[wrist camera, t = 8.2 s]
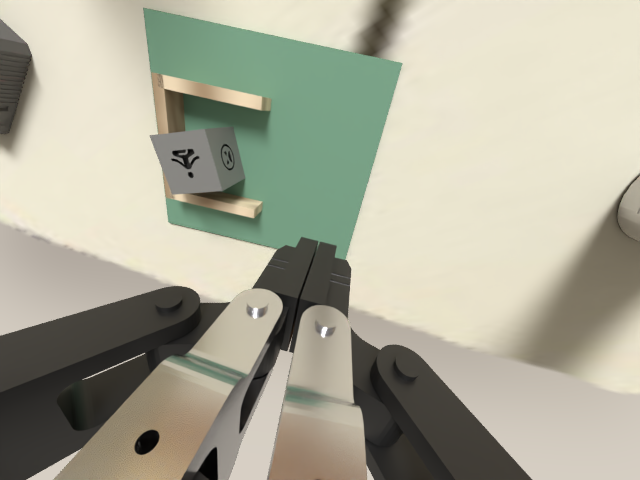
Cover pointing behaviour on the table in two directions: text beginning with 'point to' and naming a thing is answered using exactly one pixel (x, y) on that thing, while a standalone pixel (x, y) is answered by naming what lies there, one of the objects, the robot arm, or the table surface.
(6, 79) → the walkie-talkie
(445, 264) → the table surface
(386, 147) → the table surface
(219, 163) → the dice cube
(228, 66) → the green mat
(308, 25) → the table surface
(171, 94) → the wooden u-shaped frame
